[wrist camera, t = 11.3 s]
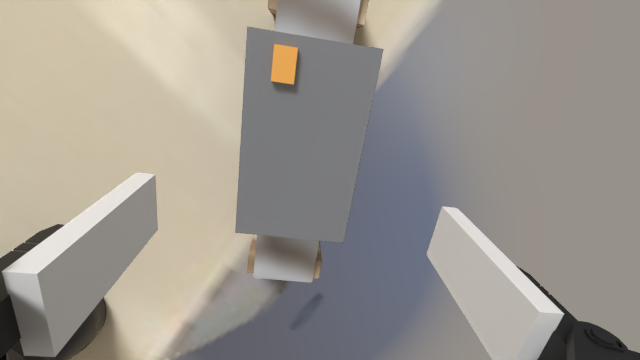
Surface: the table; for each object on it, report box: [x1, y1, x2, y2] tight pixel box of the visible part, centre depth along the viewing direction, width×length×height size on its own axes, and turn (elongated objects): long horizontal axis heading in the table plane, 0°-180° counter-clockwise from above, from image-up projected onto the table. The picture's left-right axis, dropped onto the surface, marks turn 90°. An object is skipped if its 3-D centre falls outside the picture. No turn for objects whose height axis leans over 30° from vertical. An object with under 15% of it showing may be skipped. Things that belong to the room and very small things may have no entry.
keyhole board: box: [247, 0, 369, 283], centre depth 34 cm, size 30×8×6 cm, turn 172°
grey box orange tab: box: [235, 27, 383, 243], centre depth 30 cm, size 16×9×12 cm, turn 172°
